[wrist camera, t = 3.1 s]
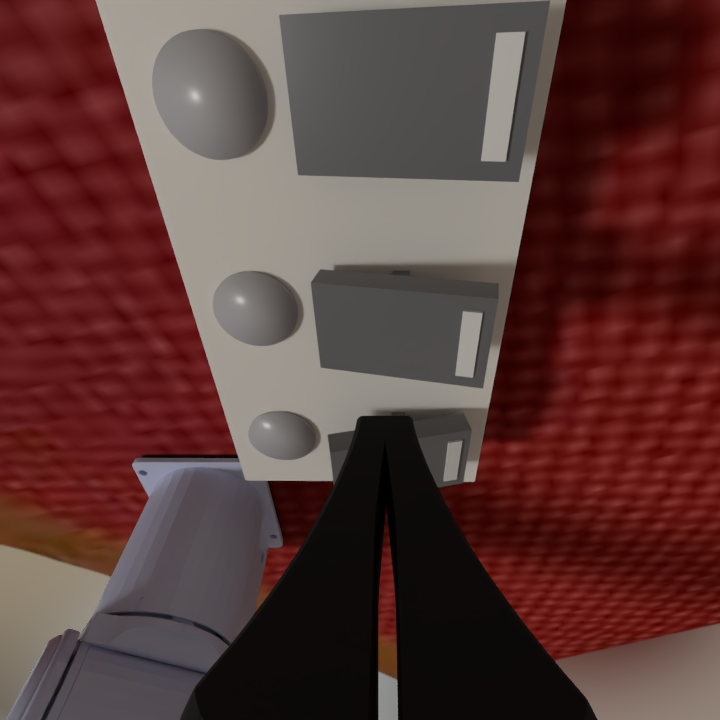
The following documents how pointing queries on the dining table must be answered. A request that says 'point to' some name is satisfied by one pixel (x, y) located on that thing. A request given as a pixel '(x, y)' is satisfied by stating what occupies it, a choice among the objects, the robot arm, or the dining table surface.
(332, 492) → the robot arm
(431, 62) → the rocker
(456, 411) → the power strip
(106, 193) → the dining table surface
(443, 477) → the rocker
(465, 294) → the middle rocker
